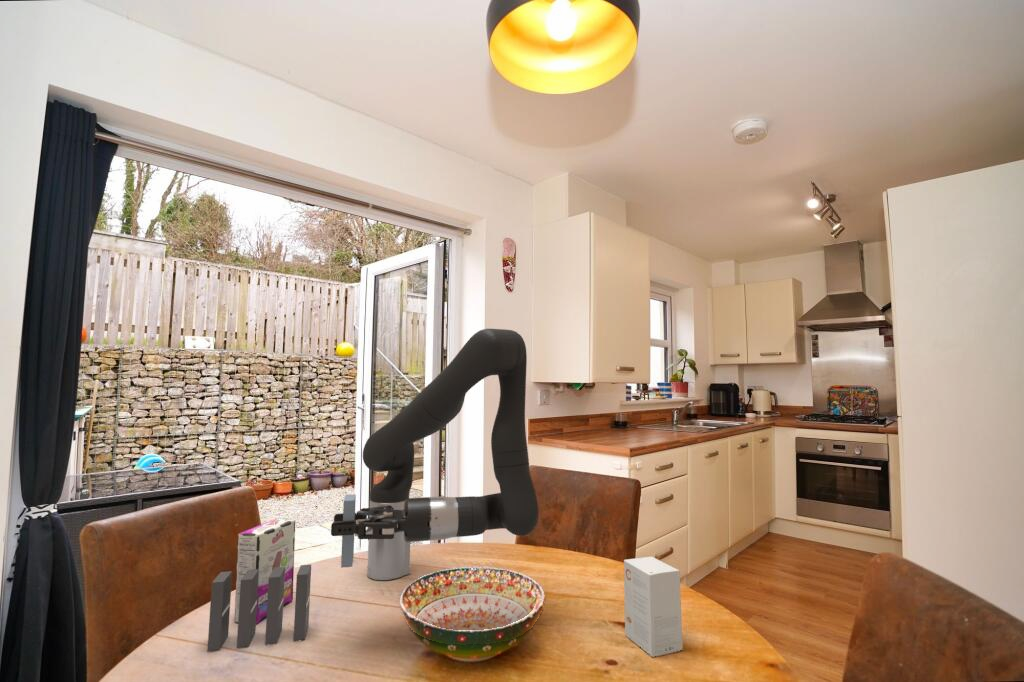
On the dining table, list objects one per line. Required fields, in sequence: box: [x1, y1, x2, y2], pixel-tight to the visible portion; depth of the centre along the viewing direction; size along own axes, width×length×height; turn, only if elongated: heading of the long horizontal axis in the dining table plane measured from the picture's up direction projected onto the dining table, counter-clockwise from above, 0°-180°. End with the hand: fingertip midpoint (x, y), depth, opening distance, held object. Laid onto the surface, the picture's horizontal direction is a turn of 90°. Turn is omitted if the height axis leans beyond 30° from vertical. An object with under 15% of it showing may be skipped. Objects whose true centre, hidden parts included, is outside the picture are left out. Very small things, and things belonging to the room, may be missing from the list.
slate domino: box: [340, 494, 357, 568], centre depth 86 cm, size 2×5×11 cm, turn 16°
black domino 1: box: [236, 569, 259, 649], centre depth 85 cm, size 2×5×11 cm, turn 16°
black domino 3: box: [293, 564, 312, 642], centre depth 88 cm, size 2×5×11 cm, turn 16°
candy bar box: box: [233, 517, 296, 625], centre depth 97 cm, size 11×5×16 cm, turn 168°
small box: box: [623, 556, 684, 658], centre depth 85 cm, size 8×6×13 cm
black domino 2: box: [264, 567, 285, 646], centre depth 86 cm, size 2×5×11 cm, turn 15°
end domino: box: [206, 570, 233, 653], centre depth 84 cm, size 2×5×11 cm, turn 16°
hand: (333, 524), depth 85 cm, fingers closed on slate domino, 5 cm apart
